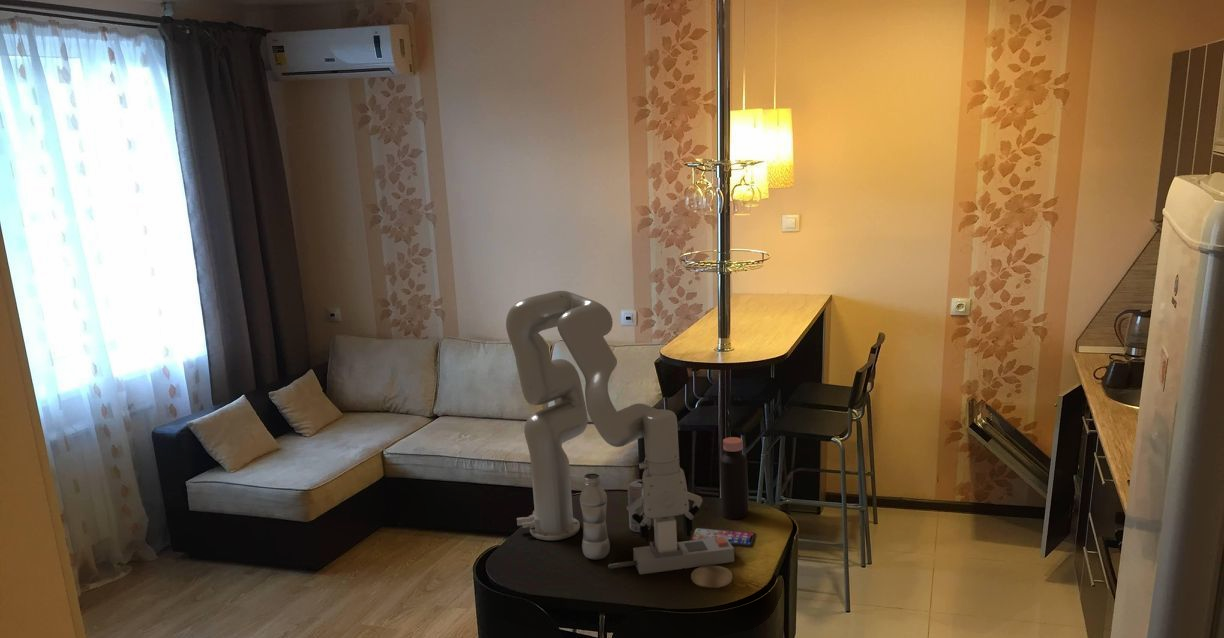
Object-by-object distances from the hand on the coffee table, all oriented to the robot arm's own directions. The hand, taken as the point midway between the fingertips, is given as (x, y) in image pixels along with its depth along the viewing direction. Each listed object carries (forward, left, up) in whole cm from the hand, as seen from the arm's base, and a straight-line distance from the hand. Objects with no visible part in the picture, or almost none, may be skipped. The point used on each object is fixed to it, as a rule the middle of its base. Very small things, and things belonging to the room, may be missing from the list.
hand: (666, 537), depth 190 cm
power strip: (+1, 0, -7) cm, 7 cm away
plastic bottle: (-15, +8, -7) cm, 19 cm away
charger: (0, 0, -3) cm, 3 cm away
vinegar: (+23, +21, -7) cm, 32 cm away
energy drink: (-2, +20, -7) cm, 21 cm away
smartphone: (+16, +9, -7) cm, 20 cm away
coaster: (+8, -9, -7) cm, 13 cm away
